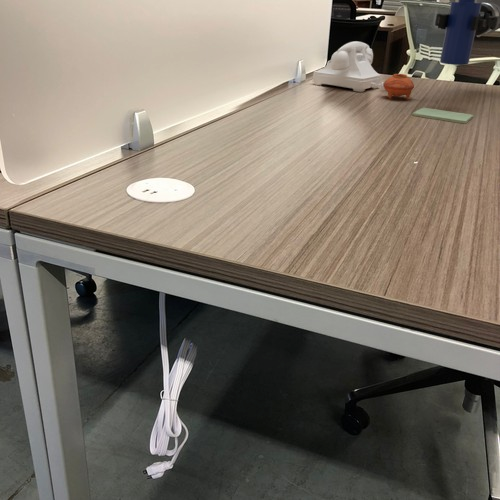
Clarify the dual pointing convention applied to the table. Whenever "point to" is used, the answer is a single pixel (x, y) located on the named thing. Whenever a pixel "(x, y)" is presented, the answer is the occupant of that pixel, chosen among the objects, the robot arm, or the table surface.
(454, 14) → the bottle
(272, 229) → the table surface
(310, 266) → the table surface
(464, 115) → the mat
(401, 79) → the pot
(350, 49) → the telephone
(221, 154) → the table surface
